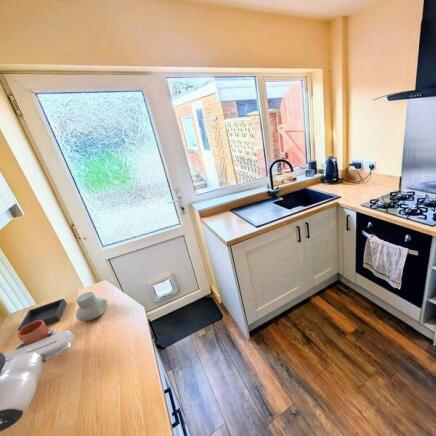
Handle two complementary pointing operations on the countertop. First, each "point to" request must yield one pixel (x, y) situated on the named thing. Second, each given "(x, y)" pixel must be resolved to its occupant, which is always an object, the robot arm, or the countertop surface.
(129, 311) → the countertop surface
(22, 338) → the tumbler
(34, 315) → the tray
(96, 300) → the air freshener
